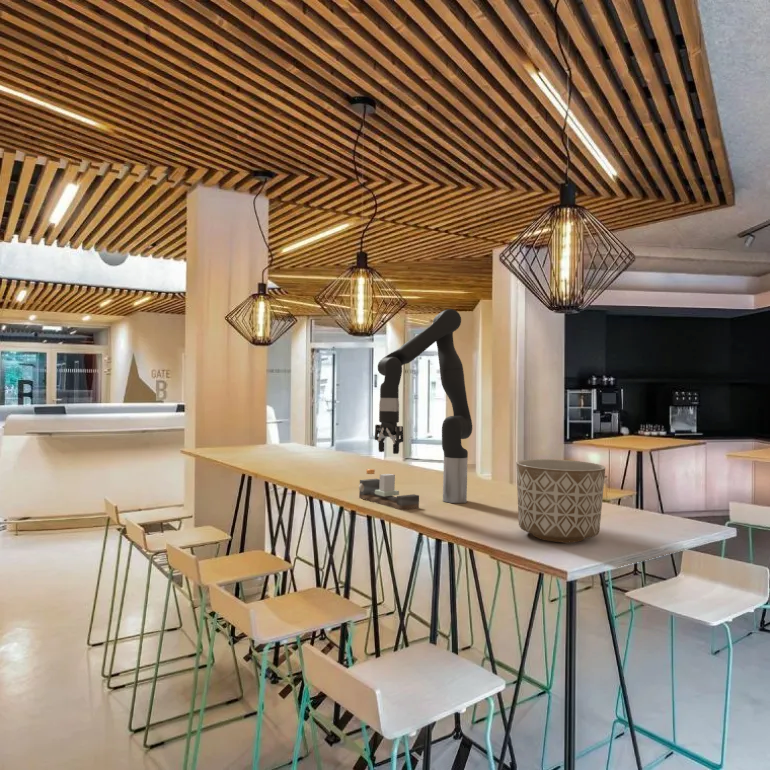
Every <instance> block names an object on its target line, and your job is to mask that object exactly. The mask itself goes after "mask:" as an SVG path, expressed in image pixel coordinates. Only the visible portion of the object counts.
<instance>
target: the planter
mask: <svg viewBox="0 0 770 770" xmlns="http://www.w3.org/2000/svg"><path fill="white" fill-rule="evenodd" d="M605 476H606V466H604V465H602V464H598V463H594V462H586V461H580V460H569V459H551V458H550V459H549V458H547V459H546V458H540V459H539V458H535V459H533V458H532V459H521V460H517V461H516V484H517V485H516V487H517V512H518V526H519V528H520V529H521V530H523V531H525V532H527V533H529V534H532V535H533V537H535V538H537V539H539V540H543V541H548V542H555V543H556V542H557V543H579V542H582V541H584V539H590V538H592V537H596V536H598V534H599V533H600V531H601V530H600V529H601V519H602V508H603V499H604V497H603V496H604V486H605V478H606V477H605Z"/></svg>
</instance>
